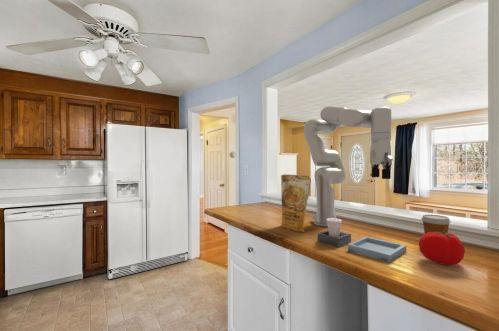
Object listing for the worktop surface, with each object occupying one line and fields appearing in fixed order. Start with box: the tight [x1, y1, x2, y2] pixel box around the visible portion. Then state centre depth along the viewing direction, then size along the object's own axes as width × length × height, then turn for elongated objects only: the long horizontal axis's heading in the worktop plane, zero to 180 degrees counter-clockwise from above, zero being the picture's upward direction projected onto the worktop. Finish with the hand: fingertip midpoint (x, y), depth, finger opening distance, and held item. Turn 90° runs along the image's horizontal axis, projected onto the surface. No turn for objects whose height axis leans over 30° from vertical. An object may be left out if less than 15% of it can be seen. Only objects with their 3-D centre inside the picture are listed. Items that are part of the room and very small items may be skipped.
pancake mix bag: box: [280, 174, 312, 233], centre depth 131 cm, size 7×19×28 cm, turn 35°
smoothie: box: [326, 209, 343, 238], centre depth 108 cm, size 6×6×14 cm
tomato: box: [418, 231, 466, 266], centre depth 86 cm, size 13×12×11 cm
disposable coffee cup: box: [420, 214, 452, 234], centre depth 102 cm, size 10×10×12 cm
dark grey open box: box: [316, 229, 352, 248], centre depth 108 cm, size 10×10×4 cm
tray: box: [347, 236, 407, 263], centre depth 96 cm, size 15×15×2 cm
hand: (380, 178), depth 106 cm, fingers open, 9 cm apart
